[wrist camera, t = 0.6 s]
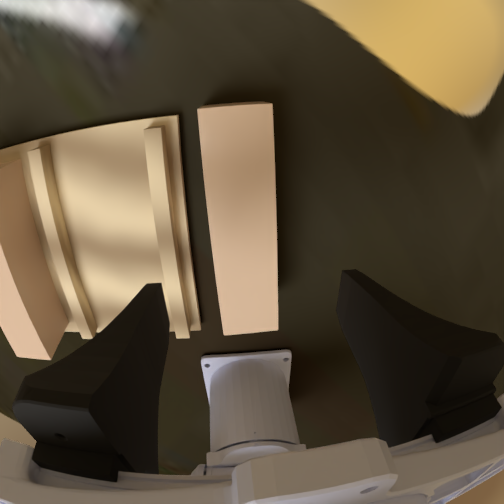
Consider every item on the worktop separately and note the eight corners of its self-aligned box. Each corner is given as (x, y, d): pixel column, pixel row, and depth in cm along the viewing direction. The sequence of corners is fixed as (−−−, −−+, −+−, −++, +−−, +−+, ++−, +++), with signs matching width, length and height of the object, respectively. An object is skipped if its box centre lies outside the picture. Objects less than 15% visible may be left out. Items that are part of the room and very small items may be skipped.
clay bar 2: (269, 291, 25) (278, 330, 21) (222, 295, 25) (224, 335, 21) (261, 101, 18) (272, 103, 14) (202, 105, 18) (197, 108, 14)
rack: (201, 323, 26) (200, 342, 24) (18, 323, 24) (8, 338, 22) (178, 114, 18) (173, 117, 16) (-36, 161, 17) (-52, 169, 15)
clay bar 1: (68, 322, 24) (51, 360, 20) (37, 322, 23) (17, 356, 19) (20, 158, 17) (-17, 177, 13) (-13, 167, 17) (-51, 187, 13)
